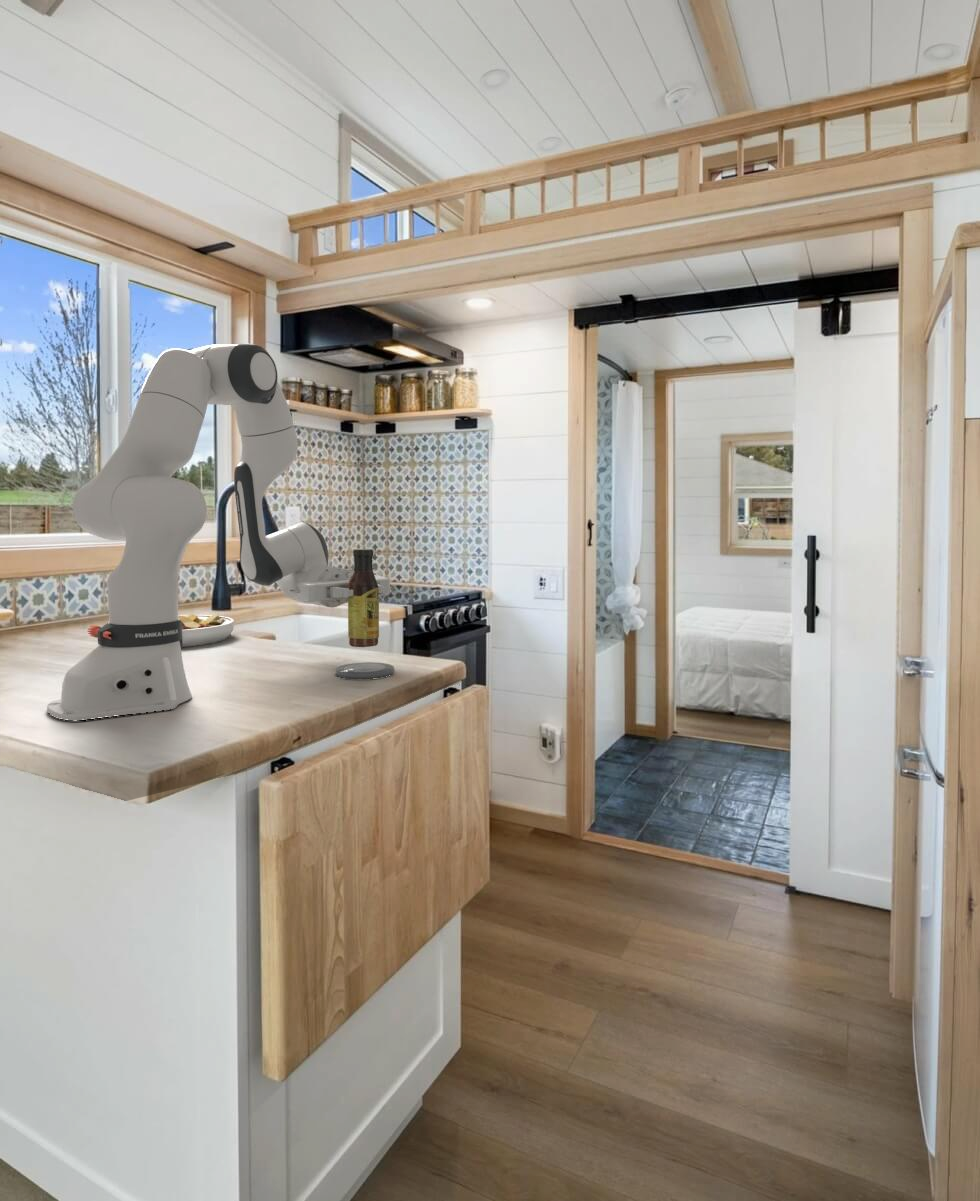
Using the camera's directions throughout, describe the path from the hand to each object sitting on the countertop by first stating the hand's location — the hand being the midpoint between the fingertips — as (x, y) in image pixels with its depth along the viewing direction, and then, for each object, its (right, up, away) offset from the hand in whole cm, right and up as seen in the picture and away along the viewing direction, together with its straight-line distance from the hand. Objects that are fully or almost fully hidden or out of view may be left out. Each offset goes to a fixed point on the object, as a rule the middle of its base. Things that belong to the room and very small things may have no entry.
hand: (366, 591), depth 155 cm
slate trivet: (-1, -17, +2) cm, 17 cm away
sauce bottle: (-1, -11, +2) cm, 11 cm away
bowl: (-57, -13, +44) cm, 73 cm away
